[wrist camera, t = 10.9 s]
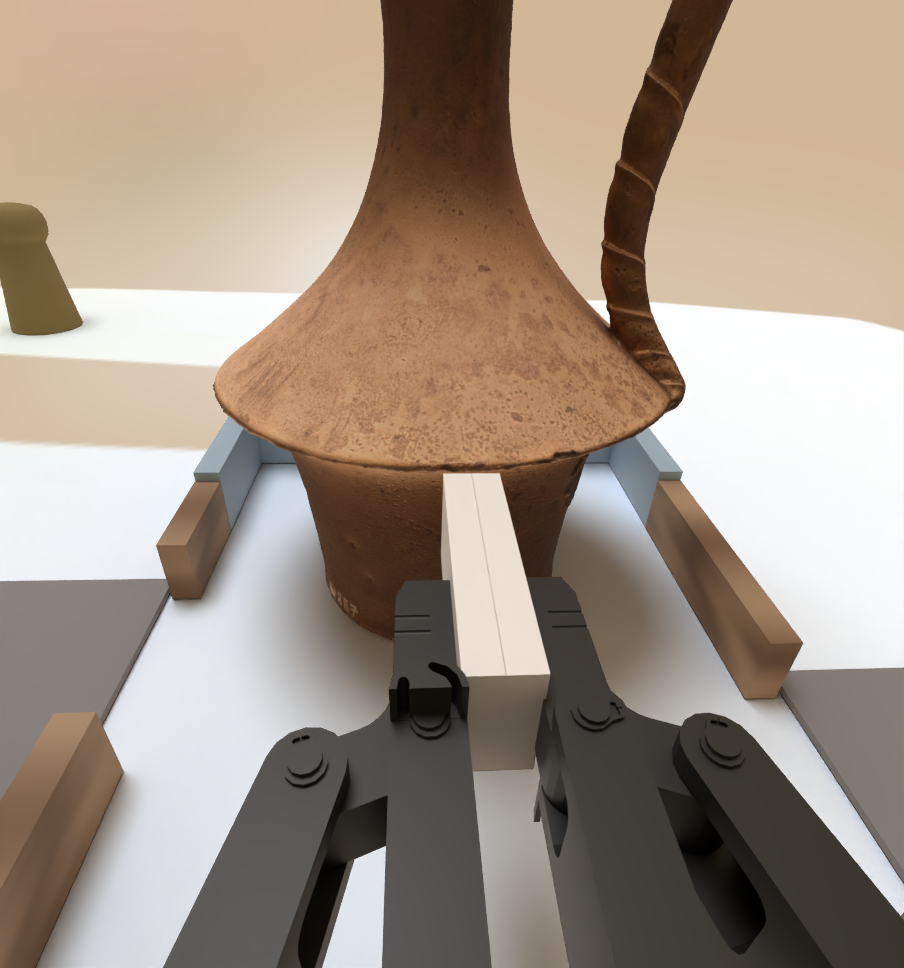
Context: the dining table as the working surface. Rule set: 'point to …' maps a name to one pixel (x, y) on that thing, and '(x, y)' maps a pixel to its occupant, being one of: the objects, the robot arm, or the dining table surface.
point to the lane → (188, 566)
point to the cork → (32, 275)
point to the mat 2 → (859, 741)
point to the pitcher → (464, 314)
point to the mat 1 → (66, 652)
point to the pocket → (243, 453)
